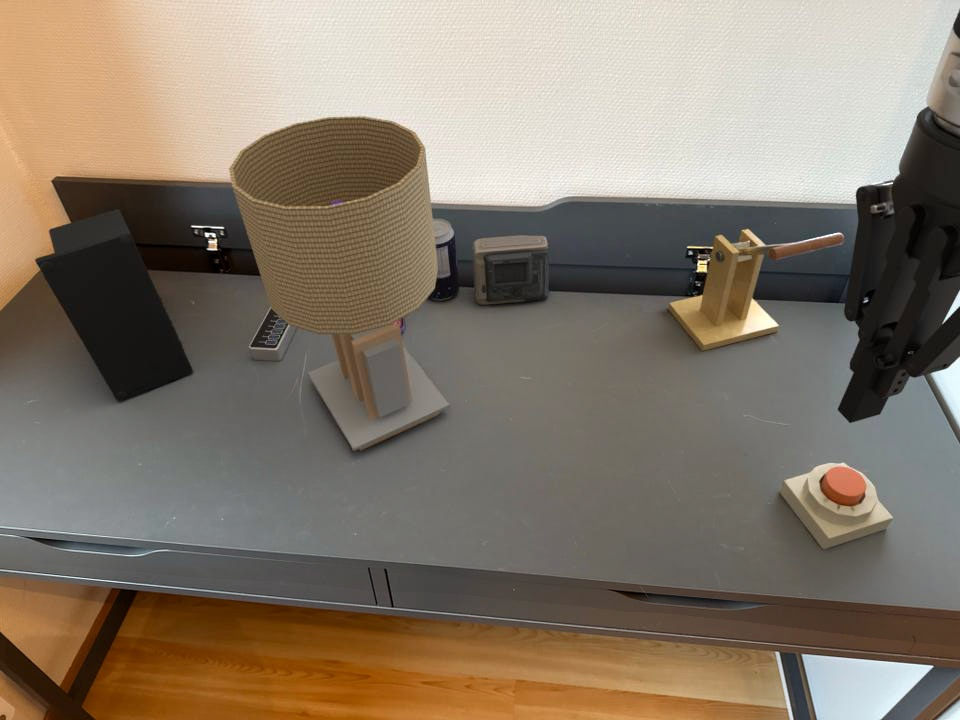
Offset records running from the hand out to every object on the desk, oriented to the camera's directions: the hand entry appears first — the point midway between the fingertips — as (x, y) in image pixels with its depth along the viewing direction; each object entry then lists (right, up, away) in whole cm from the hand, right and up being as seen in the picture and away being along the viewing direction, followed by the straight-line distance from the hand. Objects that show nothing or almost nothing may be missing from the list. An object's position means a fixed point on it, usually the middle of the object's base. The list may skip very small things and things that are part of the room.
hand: (858, 411), depth 54 cm
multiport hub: (-59, +9, +52) cm, 80 cm away
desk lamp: (-43, -2, +40) cm, 59 cm away
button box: (+10, -13, +24) cm, 29 cm away
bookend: (-80, +6, +51) cm, 96 cm away
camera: (-24, +14, +55) cm, 62 cm away
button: (+10, -10, +22) cm, 26 cm away
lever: (+7, +17, +34) cm, 39 cm away
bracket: (+6, +10, +49) cm, 50 cm away
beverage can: (-35, +15, +57) cm, 69 cm away
